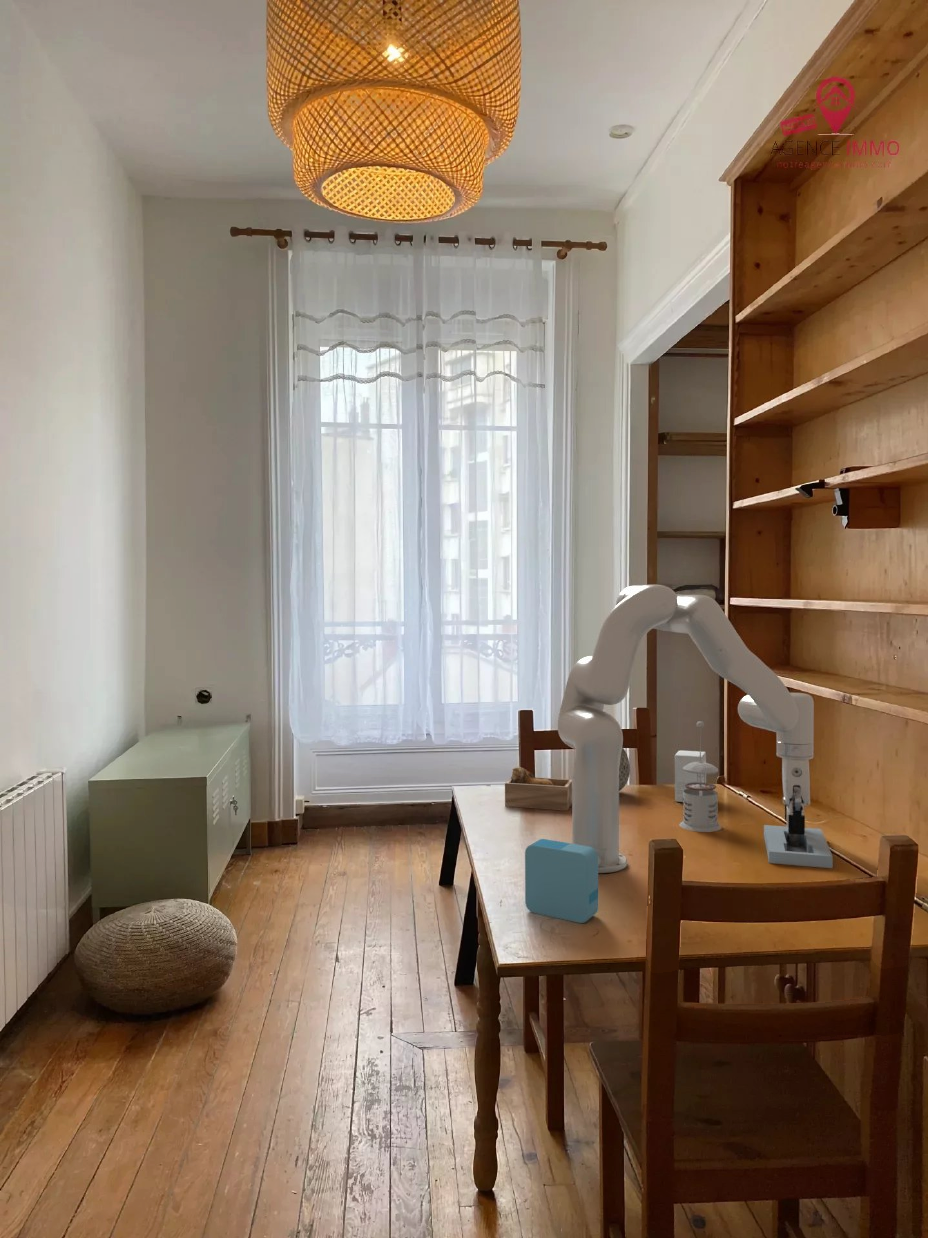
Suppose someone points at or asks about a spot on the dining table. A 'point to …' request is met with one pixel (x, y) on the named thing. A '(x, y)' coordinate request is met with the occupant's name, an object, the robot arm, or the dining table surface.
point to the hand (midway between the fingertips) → (794, 827)
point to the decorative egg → (623, 769)
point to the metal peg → (792, 838)
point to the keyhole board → (797, 848)
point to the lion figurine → (527, 777)
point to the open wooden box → (540, 794)
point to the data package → (561, 880)
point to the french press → (700, 798)
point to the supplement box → (685, 777)
